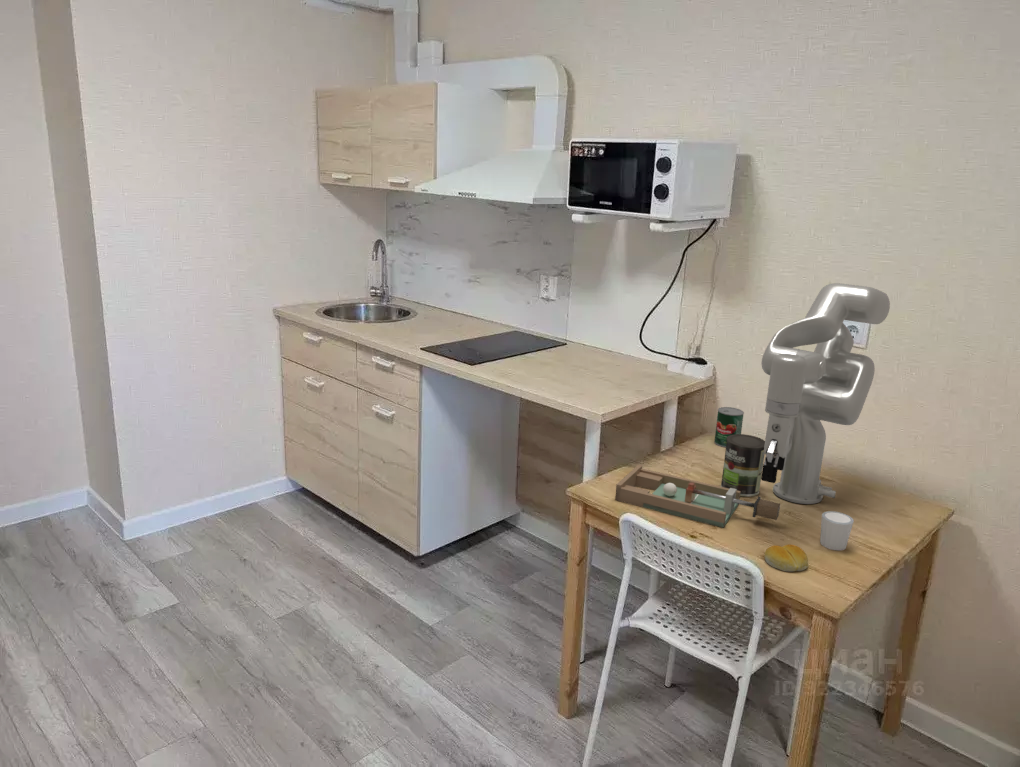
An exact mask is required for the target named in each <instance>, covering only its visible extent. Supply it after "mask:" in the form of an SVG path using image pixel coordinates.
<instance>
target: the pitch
mask: <svg viewBox="0 0 1020 767" xmlns="http://www.w3.org/2000/svg"><path fill="white" fill-rule="evenodd" d="M690 482H693V483H695V486H696V490H701V491H705V492H709V493H713V494H718V495H722V496H725V501H724V500H720V499H715V498H711V497H707V496H703V495H699V494H695V498H694V500H693V501H692V502H691V503H689V502H685V494H686V489H687V488H688V484H689V483H690ZM667 483H673V484H674V485H675V486H676V488H677V492H676V494H675V495H674V496H667V495H665V494H664V492H663V487H664V485H665V484H667ZM643 488H644V489H643ZM650 490H651V491H652V490H653V492H652V493H650ZM740 493H741V491H737V489H734V488H730V489H729V488H724V487H721V485H715V484H710V483H707V482H704V481H703V482H702V481H698V480H694V479H690V478H685V477H680V476H677V475H672V474H667V473H663V472H659V471H654V470H650V469H645V468H643V465H641V464H637V465H636V466H635V467H634V468H633V469H632V470H631V471H629V472H628V473H627V474H626V475H625V476H624V477H623V478H622V479H621V480H620V481H618V482H617V483H616V485H615V496H614V497H615V499H614V501H617V502H621V503H625V504H628V505H632V506H633V505H634V506H636V507H641V508H644V509H648V510H652V511H657V512H660V513H663V514H664V513H665V514H668V515H670V516H671V515H673V516H676V517H680V518H684V519H687V520H691V521H695V522H699V523H703V524H707V525H711V526H715V527H719V528H721V529H722V528H723V529H724V528H725V526H726V525H727V523H728V521H729V520H730V519H731V517H732V515H733V514H734V513H735V511H736V509H737V508H738V506H739V505H740V504H736V503H732V502H733V498H734V499H739V500H741V499H740V498H741V496H740Z"/></svg>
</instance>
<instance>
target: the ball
mask: <svg viewBox="0 0 1020 767" xmlns="http://www.w3.org/2000/svg"><path fill="white" fill-rule="evenodd" d="M663 492H664V494H665V495H667V496H674V495H675V494H676V492H677V488H676V486H675V485H674V484H673V483H667V484H665V485H664V487H663Z"/></svg>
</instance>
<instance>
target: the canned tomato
mask: <svg viewBox="0 0 1020 767" xmlns="http://www.w3.org/2000/svg"><path fill="white" fill-rule="evenodd" d="M744 414H745V412H744V411H743V410H742V409H739V408H737V407H730V406H724V407H722V406H720V407H719V408H718V409H717V415H716V416H717V417H716V426H715V434H714V444H715V445H717V446H719V447H723V448H726V444H727V441H726V439H727V437H728V436H730V435H734V434H742V431H743V430H742V429H743V423H744V422H743V421H744Z"/></svg>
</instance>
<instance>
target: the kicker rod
mask: <svg viewBox="0 0 1020 767" xmlns="http://www.w3.org/2000/svg"><path fill="white" fill-rule="evenodd" d="M695 494H699V495H703V496H707V497H711V498H715V499H720V500H724V501H725V496H722V495H718V494H713V493H709V492H705V491H701V490H696V486H695V483H693V482H690V483H689V484H688V488H687V489H686V494H685V502H689V503H691V502H692V501H693V500H694V498H695ZM757 496H758V495H757ZM732 503H736V504H739V505H740V506H746V507H748V508H749V507H750V508H753V511H752V518H756V516H757V517H761V518H765V519H769V520H773V521H777V520H778V518H779V515H780V509H781V503H780V502H779V503H778V502H775V501H770V500H767V499H762V497H761V496H758V497H757V498H756V500H755V502H751V501H746V500H742V499H740V500H739V499H734V498H733V502H732Z"/></svg>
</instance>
